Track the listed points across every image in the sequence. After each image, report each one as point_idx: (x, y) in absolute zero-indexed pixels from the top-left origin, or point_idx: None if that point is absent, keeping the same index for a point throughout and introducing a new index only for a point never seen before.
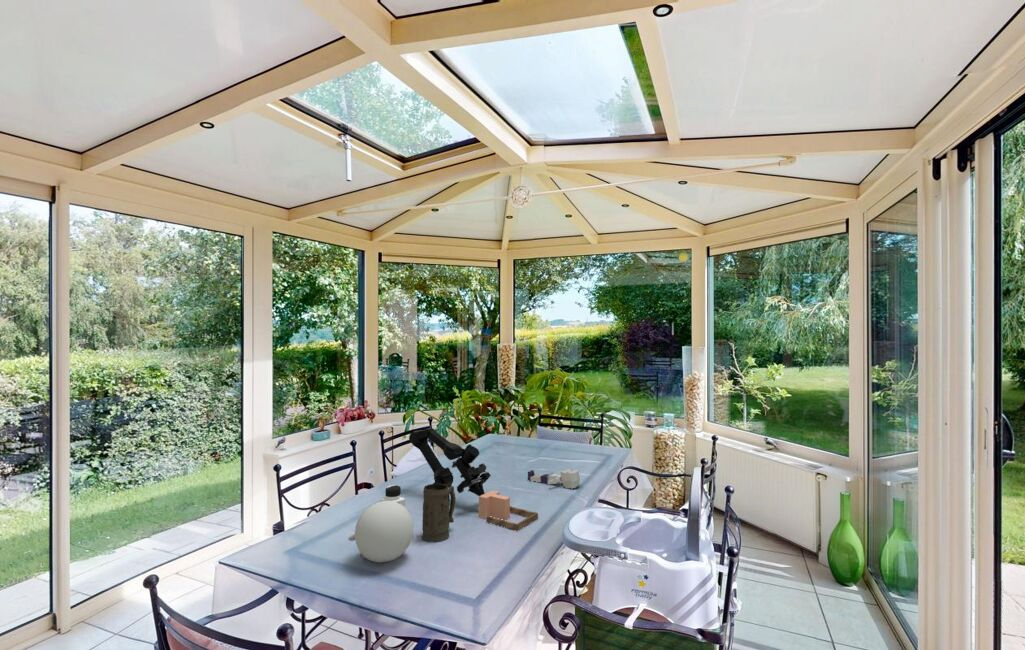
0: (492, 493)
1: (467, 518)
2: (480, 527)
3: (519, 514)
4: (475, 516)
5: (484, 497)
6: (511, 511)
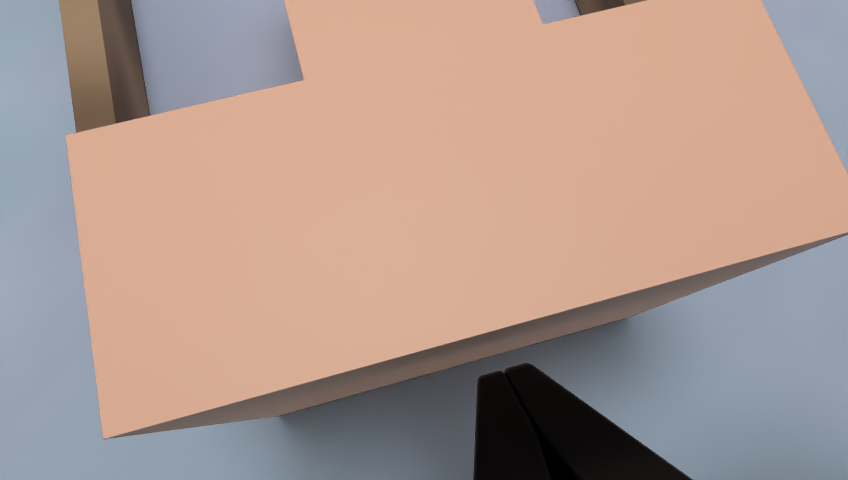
0: (340, 166)
1: (804, 386)
2: (786, 23)
3: (127, 2)
4: (657, 372)
5: (763, 38)
6: (141, 114)
